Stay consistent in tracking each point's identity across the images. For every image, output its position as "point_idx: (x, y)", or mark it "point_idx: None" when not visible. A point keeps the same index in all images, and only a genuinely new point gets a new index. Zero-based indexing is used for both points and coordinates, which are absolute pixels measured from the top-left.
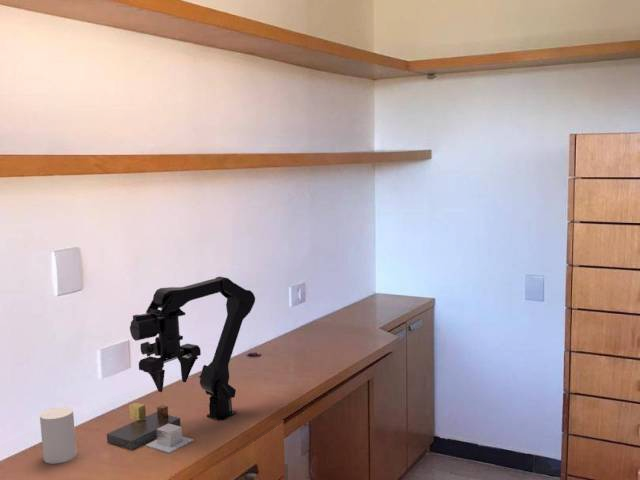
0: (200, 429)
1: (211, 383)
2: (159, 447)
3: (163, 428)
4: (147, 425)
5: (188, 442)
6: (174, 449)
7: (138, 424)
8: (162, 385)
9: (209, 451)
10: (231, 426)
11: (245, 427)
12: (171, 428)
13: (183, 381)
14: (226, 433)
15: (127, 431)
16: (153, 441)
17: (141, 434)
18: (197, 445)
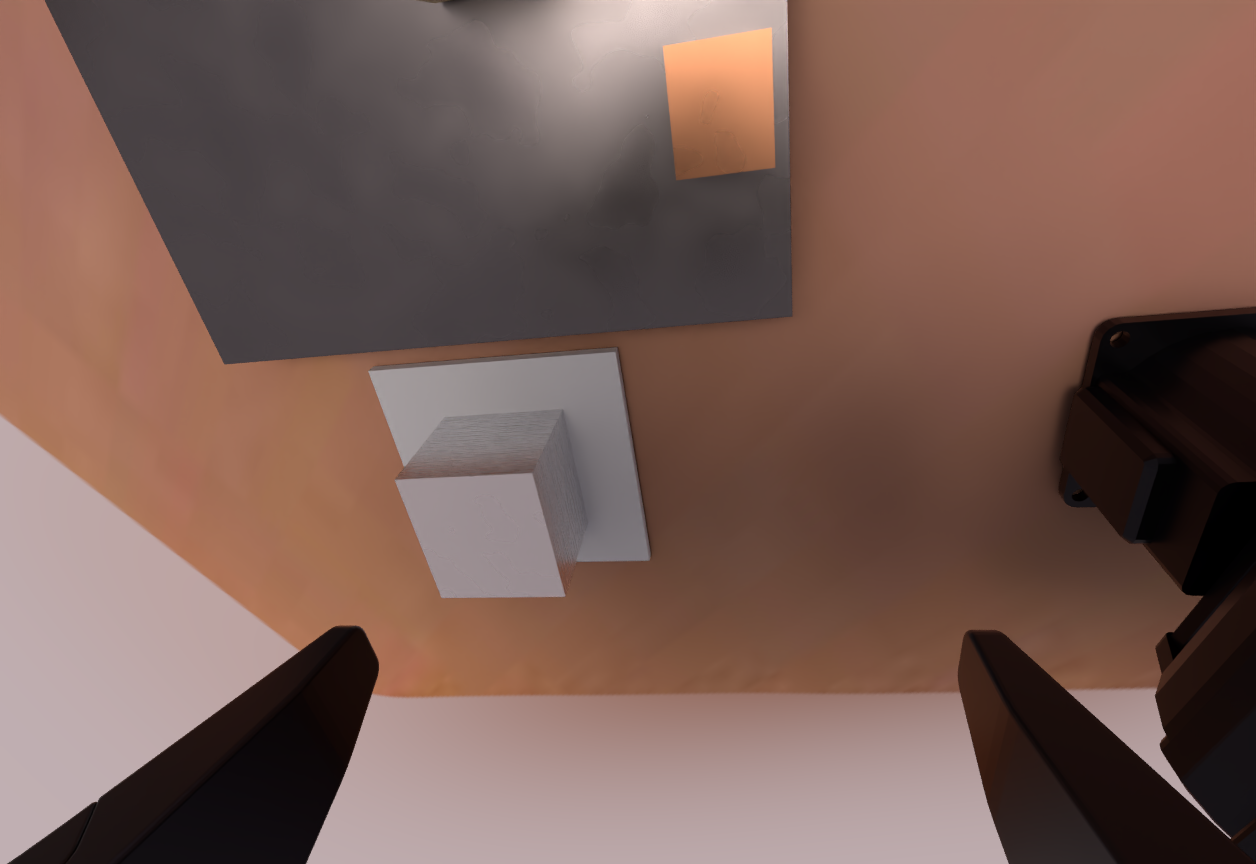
0: (825, 467)
1: (1237, 820)
2: None
3: (446, 513)
4: (462, 186)
5: (604, 558)
6: None
7: (400, 69)
8: (304, 823)
9: (615, 691)
10: (983, 601)
11: None
12: (493, 560)
13: (962, 660)
14: (860, 637)
15: (248, 144)
16: (437, 371)
17: (335, 322)
18: (622, 607)
